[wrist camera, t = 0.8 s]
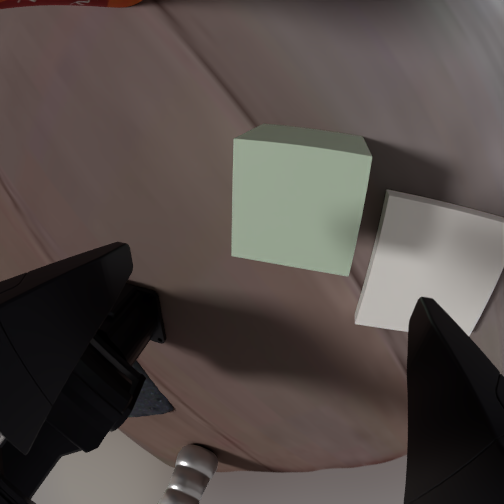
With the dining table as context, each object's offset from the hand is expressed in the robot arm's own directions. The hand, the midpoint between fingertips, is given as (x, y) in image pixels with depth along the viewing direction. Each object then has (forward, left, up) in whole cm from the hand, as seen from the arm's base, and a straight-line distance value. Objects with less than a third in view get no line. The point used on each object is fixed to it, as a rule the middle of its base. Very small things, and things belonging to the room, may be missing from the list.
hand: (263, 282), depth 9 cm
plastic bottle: (-45, +10, -12) cm, 48 cm away
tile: (-5, -10, -12) cm, 17 cm away
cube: (0, 0, -12) cm, 12 cm away
